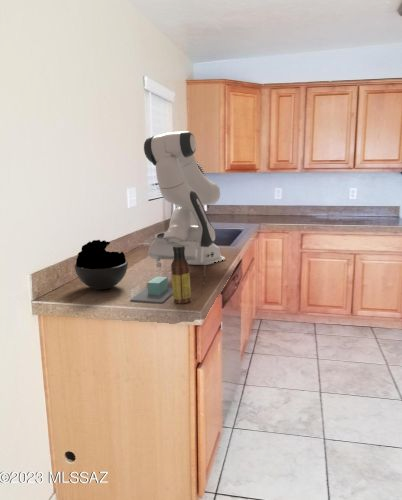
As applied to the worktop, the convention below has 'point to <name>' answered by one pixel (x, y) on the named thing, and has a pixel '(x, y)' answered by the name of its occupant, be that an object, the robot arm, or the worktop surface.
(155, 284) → the teal block
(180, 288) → the sauce bottle
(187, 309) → the worktop surface
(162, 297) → the rubber mat
